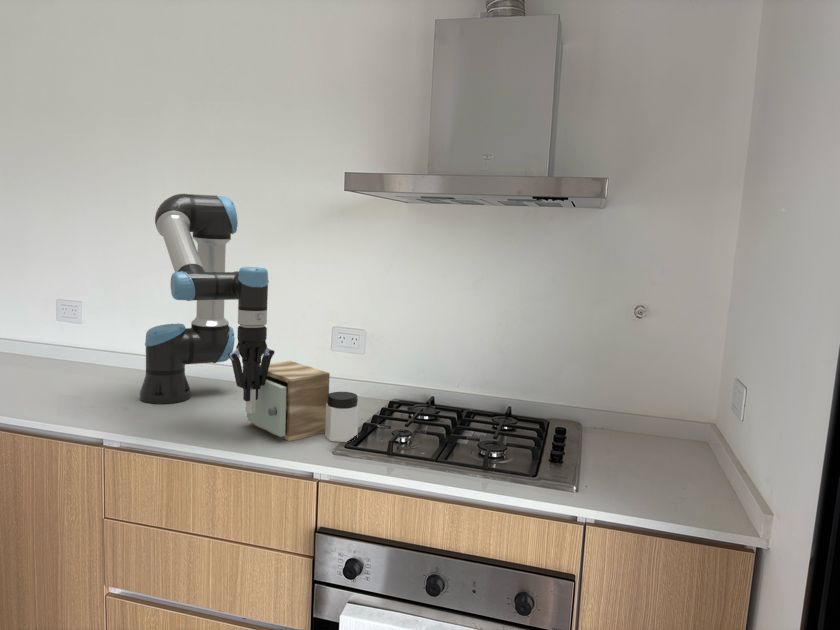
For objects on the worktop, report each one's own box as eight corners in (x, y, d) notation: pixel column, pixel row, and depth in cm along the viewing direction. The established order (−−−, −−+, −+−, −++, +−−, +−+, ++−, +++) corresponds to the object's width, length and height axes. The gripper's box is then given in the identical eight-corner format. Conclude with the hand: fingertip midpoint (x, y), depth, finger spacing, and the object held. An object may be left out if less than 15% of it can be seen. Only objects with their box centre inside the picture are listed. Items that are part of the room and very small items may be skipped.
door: (240, 420, 189) (241, 374, 187) (250, 418, 191) (251, 373, 189) (275, 437, 176) (276, 388, 174) (285, 435, 178) (286, 387, 176)
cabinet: (250, 423, 191) (251, 365, 189) (288, 415, 201) (289, 360, 198) (289, 441, 178) (290, 379, 176) (327, 431, 188) (329, 373, 185)
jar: (361, 441, 181) (362, 398, 180) (332, 444, 178) (333, 400, 176) (349, 431, 189) (351, 390, 188) (322, 434, 186) (323, 392, 184)
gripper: (237, 328, 170) (236, 419, 172) (280, 326, 179) (278, 411, 181) (223, 325, 175) (221, 412, 178) (265, 322, 184) (263, 406, 187)
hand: (250, 412), depth 179 cm, fingers closed
